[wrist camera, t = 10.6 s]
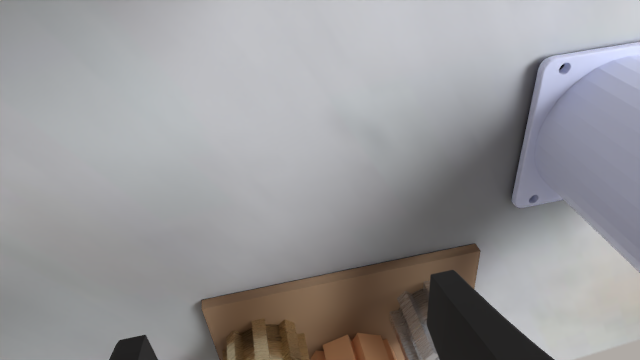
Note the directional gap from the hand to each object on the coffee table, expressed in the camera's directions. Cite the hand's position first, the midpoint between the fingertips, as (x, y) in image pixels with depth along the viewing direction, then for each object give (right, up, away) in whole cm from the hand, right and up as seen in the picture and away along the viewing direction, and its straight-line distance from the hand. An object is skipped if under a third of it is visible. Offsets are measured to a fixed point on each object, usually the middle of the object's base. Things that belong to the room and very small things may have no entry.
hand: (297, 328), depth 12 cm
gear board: (+2, -5, +16) cm, 17 cm away
